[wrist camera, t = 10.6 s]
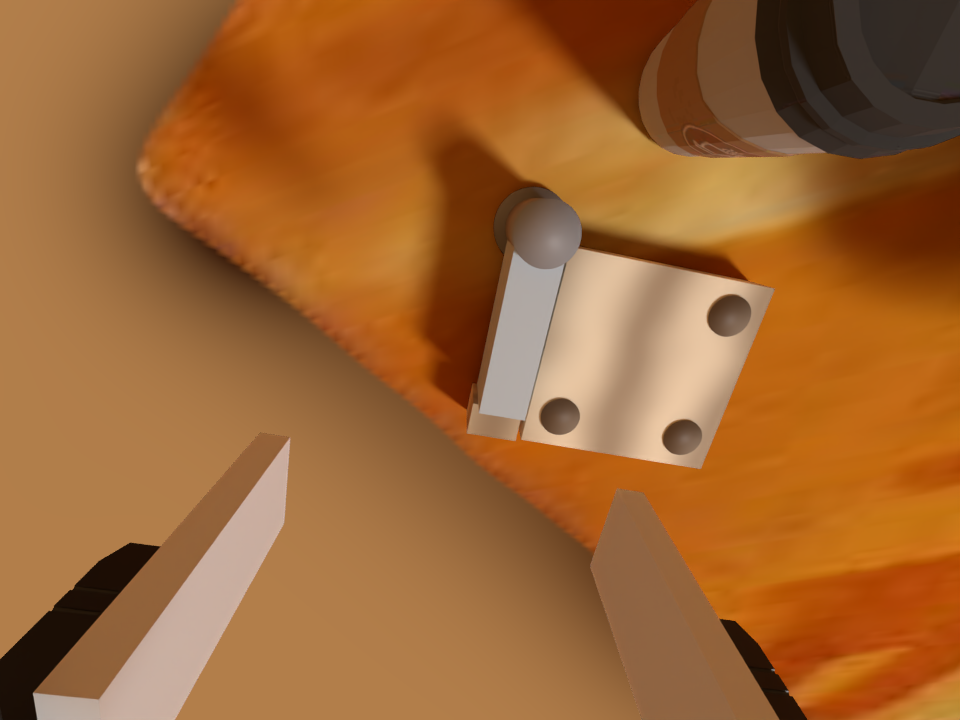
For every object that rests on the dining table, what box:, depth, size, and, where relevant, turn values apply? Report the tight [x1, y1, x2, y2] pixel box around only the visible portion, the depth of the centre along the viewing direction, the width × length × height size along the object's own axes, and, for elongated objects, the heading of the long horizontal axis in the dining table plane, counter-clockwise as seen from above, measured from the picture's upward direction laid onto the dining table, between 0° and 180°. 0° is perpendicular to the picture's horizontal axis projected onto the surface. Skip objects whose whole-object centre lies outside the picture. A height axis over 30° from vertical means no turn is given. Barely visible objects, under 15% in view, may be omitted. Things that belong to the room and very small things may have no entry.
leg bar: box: [477, 198, 582, 421], centre depth 25 cm, size 12×3×5 cm, turn 169°
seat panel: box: [467, 187, 775, 469], centre depth 28 cm, size 16×15×3 cm
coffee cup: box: [639, 0, 960, 159], centre depth 18 cm, size 8×8×15 cm
